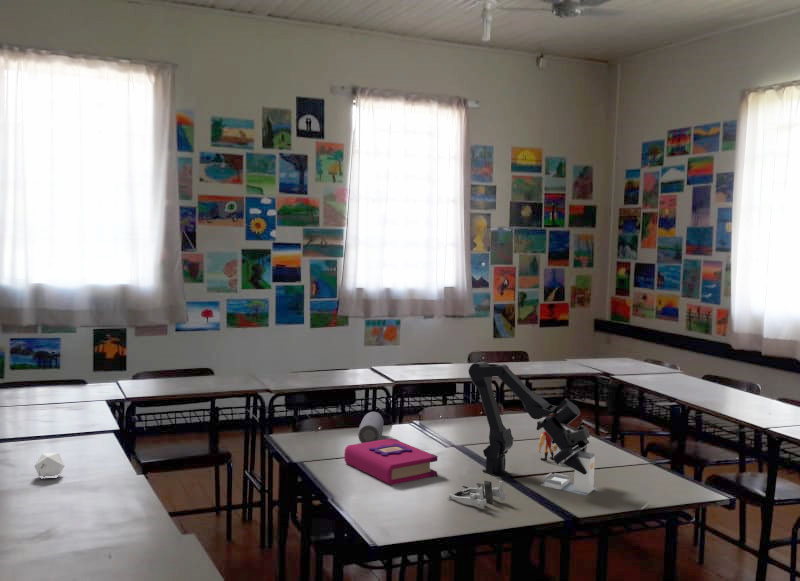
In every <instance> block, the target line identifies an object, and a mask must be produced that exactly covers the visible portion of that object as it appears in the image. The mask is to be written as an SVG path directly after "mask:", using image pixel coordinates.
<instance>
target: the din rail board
mask: <svg viewBox="0 0 800 581" xmlns="http://www.w3.org/2000/svg"><path fill="white" fill-rule="evenodd" d="M570 479H571V478H570V475H566V474H561V473H556V472H555V473H552V472H550V473H548V474H546V475H545V476H543V477H542V481H543V483H541V484H540V486H541V487H546V488H550V489H555V490H559V491H560V490H561V491H564V492H569V493H574V494H579V495H583V496H585V497H586V496H588V495H589V494H591V493H592V492H594V490H596V489H597V487H593V490H592V491H591V492H590V493H584V492H580V491H575V490H574V482H571V480H570Z"/></svg>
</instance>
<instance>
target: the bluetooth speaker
mask: <svg viewBox="0 0 800 581" xmlns="http://www.w3.org/2000/svg"><path fill="white" fill-rule="evenodd" d="M384 424H385V423H384V418H383V416H382V415H381V414H380V413H379V412H376V411H370V412H367V413H366V414H365V415H364V416H363V418H362V420H361V423H360V424H359V427H358V432H357V436H358V440H359V442H360V443H366V442H372V441H378V440H381V437H382V435H383V432H384Z"/></svg>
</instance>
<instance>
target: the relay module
mask: <svg viewBox="0 0 800 581" xmlns="http://www.w3.org/2000/svg"><path fill="white" fill-rule="evenodd" d="M595 455H596V454H595V453H592V452H587V451H586V452H582V451H580V452H578V458H579V460H580V461H581V463H582V465H583V466H584V468H585V470H586V471H587V473H586V474H585V475H584V474H582V473H581V472H579V471H577V470H575V469H574V475H573V477H574V478H573V483H574V490H575V491H580V492H584V493H589V494H591V493H592V492H593V491H594V490H593V488H594V485H595V481H594V479H595V463H596V461H595V460H596V456H595ZM592 490H593V491H592ZM591 491H592V492H591ZM590 492H591V493H590Z"/></svg>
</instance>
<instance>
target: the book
mask: <svg viewBox="0 0 800 581" xmlns="http://www.w3.org/2000/svg"><path fill="white" fill-rule="evenodd" d="M343 456H344V462H345V463H346V464H348V465H350V466H351V467H354V468H356V469H358V470H359V471H361V472H363V473H365V472H366V473H365V474H367V475H370V476H372V477H374V478H376V479H378V480H380V481H382V482H383V483H386V484H388V485H390V486H394V485H397V484H402V483H407V482H408V481H409V482H414V481H417V480H423V479H429V478H432V477H437V476H438V471H436V470H435V469H432V468H431V463H433V462H438V455H436V454H434V453H429V452H427V451H425V450H422V449H420V448H418V447H416V446H413V445H410V444H408V443H406V442H403V441H400V440H398V439H396V438H394V437H393V438H391V437H390V438H389V437H388V438H384V439H379V440H378V441H372V442H366V443H361V442H360V443H353V444H349V445H347V446H346V447H345V449H344V455H343ZM413 480H414V481H413Z"/></svg>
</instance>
